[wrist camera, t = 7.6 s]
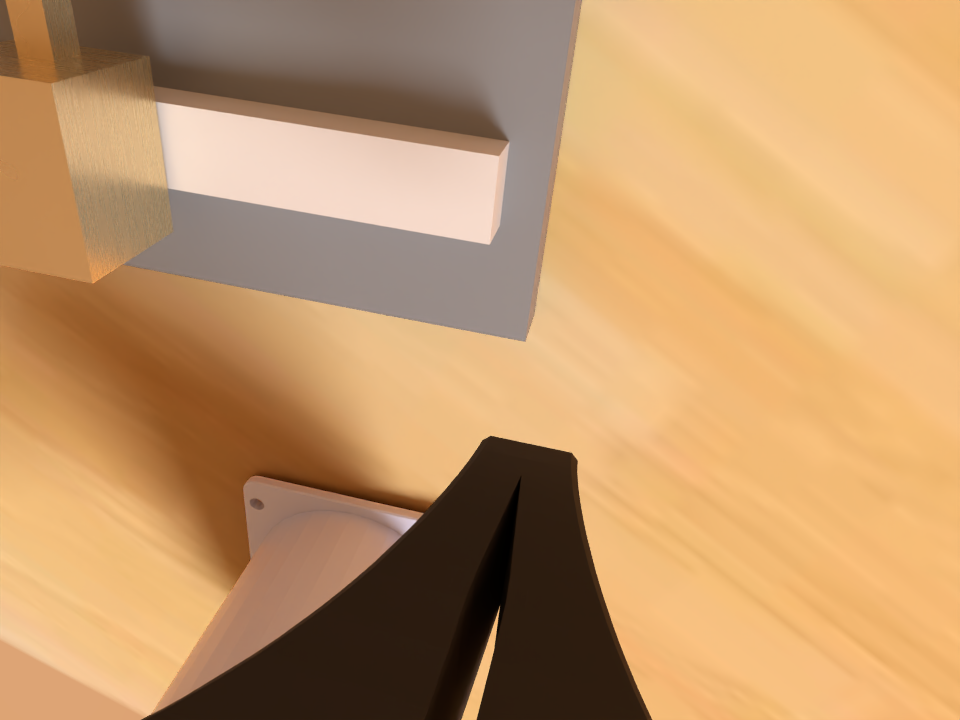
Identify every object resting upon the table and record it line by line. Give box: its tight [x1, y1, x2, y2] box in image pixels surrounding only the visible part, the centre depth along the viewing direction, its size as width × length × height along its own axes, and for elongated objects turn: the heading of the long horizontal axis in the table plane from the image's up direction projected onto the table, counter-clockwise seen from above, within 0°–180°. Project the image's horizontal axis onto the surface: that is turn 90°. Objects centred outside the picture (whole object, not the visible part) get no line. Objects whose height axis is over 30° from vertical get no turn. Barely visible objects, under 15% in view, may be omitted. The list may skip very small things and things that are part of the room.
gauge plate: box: [0, 0, 582, 342], centre depth 16 cm, size 12×22×6 cm, turn 85°
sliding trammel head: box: [0, 0, 173, 284], centre depth 15 cm, size 8×3×4 cm, turn 175°
